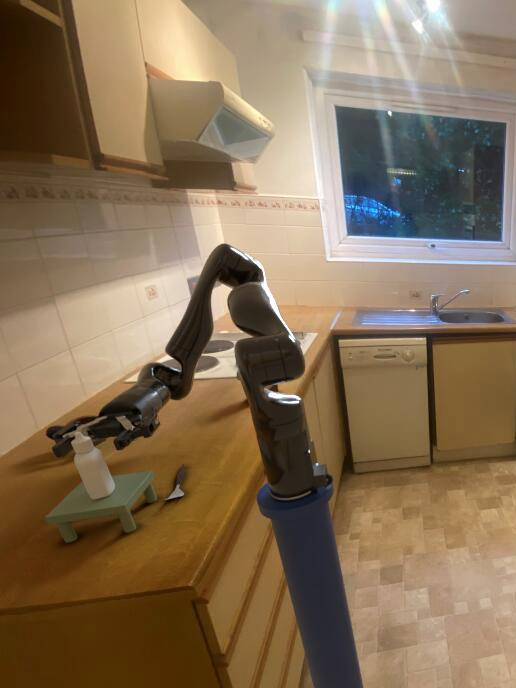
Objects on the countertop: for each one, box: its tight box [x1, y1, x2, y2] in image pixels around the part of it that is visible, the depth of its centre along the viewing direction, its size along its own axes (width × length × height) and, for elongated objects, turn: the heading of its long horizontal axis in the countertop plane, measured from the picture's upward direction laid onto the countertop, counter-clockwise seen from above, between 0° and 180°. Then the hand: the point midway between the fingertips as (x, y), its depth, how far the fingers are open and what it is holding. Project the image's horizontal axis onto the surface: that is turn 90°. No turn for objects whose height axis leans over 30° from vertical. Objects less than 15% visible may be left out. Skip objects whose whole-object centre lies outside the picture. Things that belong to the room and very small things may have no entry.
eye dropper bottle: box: [71, 432, 115, 500], centre depth 75 cm, size 4×6×12 cm
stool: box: [44, 470, 158, 544], centre depth 79 cm, size 11×11×6 cm
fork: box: [163, 463, 185, 501], centre depth 89 cm, size 3×16×2 cm, turn 29°
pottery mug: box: [45, 415, 107, 448], centre depth 102 cm, size 12×10×8 cm
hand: (87, 449), depth 75 cm, fingers open, 8 cm apart
